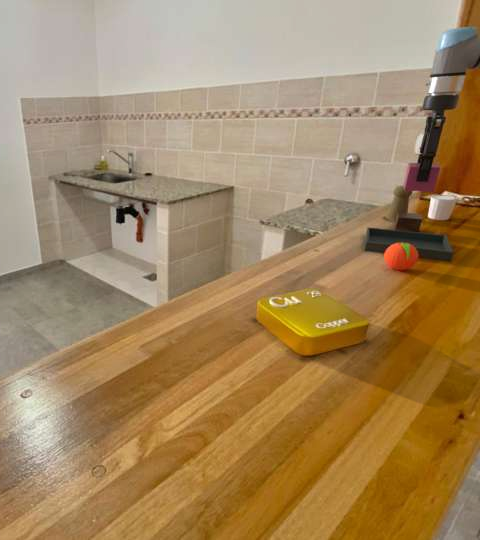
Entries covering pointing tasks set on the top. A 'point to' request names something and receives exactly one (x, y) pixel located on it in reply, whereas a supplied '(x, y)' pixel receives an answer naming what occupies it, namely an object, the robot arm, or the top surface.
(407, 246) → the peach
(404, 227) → the walnut block
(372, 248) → the tray
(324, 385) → the top surface
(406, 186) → the mulberry cube
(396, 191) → the cork
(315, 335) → the element tile
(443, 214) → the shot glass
